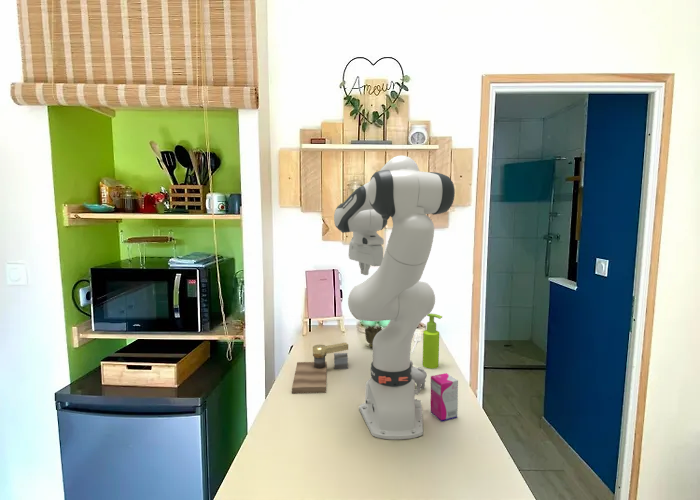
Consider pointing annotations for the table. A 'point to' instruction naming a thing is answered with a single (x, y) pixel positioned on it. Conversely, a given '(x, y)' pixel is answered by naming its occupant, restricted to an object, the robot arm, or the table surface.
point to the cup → (371, 334)
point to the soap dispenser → (431, 344)
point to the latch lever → (328, 349)
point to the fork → (416, 342)
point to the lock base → (316, 374)
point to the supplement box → (444, 397)
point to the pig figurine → (418, 376)
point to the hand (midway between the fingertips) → (364, 274)
